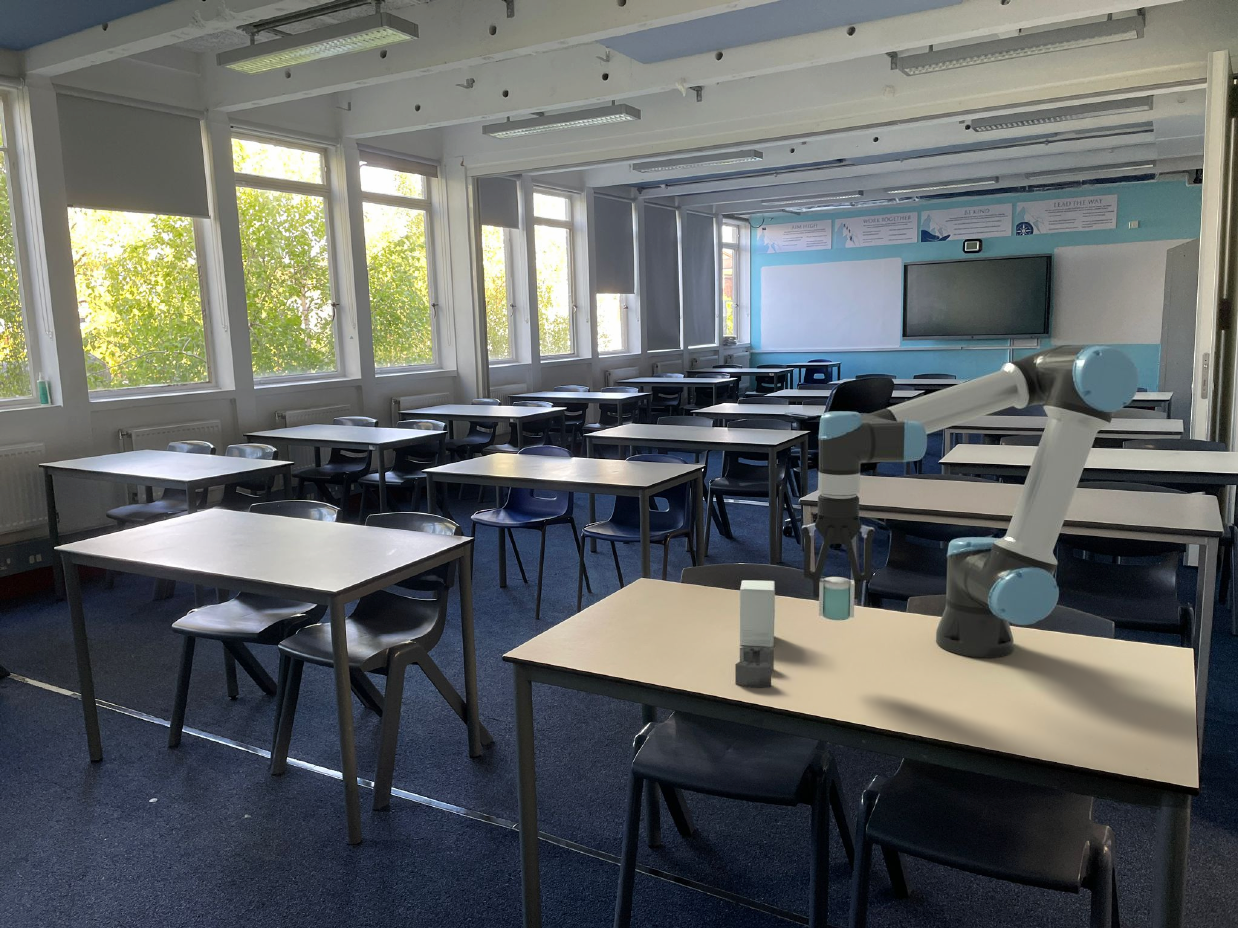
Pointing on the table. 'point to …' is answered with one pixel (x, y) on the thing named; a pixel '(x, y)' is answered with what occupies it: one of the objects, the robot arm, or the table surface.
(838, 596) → the teal lidded jar
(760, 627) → the supplement box
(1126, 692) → the table surface
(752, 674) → the grey stepped block
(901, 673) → the table surface
